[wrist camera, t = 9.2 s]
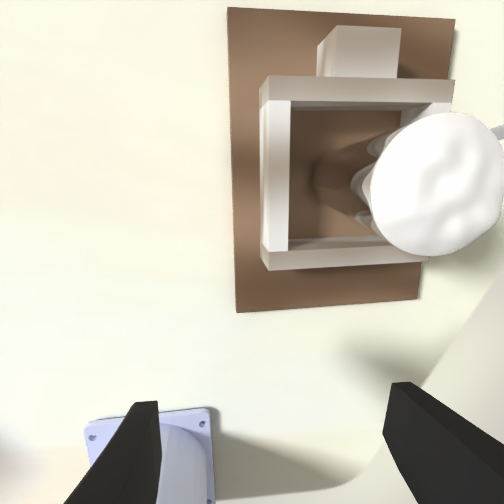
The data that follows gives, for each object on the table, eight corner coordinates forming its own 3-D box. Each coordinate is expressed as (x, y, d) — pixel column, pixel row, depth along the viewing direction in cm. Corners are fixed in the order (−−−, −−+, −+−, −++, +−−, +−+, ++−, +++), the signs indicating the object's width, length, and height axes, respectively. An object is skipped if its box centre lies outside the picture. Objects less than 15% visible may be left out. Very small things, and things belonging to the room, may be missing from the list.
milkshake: (400, 166, 18) (618, 167, 9) (335, 233, 19) (471, 304, 9) (352, 106, 17) (543, 28, 7) (283, 180, 17) (378, 198, 8)
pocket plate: (410, 295, 21) (443, 316, 18) (235, 308, 20) (241, 334, 17) (447, 24, 17) (497, -6, 14) (226, 12, 15) (231, -24, 12)
